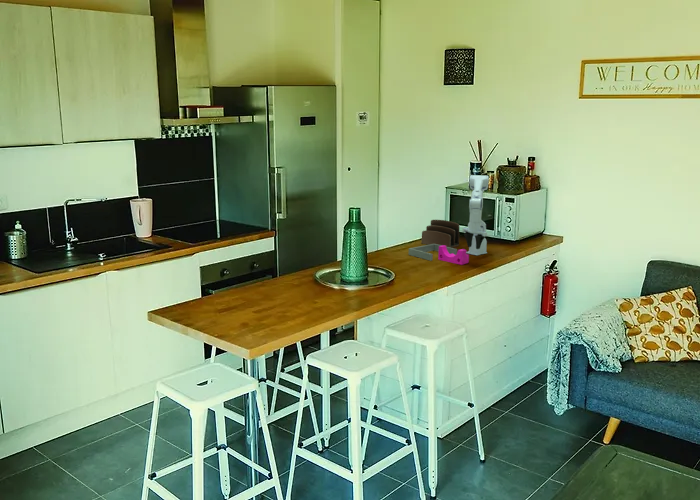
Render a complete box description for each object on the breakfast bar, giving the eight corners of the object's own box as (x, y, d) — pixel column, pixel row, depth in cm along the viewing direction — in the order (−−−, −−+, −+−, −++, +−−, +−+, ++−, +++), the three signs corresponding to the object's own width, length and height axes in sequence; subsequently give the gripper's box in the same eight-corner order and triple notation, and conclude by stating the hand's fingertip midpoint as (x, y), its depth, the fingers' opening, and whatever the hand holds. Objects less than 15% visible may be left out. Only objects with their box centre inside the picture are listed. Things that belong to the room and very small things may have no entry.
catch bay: (434, 249, 384) (434, 243, 383) (456, 255, 371) (457, 249, 371) (408, 254, 372) (408, 248, 371) (431, 260, 359) (431, 254, 358)
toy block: (468, 263, 356) (469, 249, 354) (461, 265, 352) (462, 251, 350) (445, 258, 366) (445, 244, 365) (438, 260, 362) (438, 246, 360)
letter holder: (430, 241, 407) (431, 218, 404) (459, 246, 395) (460, 222, 391) (421, 243, 400) (421, 220, 396) (450, 249, 387) (451, 224, 384)
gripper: (459, 220, 348) (457, 246, 351) (481, 224, 337) (479, 251, 340) (468, 218, 352) (466, 244, 355) (490, 223, 341) (488, 249, 344)
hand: (473, 247), depth 348 cm, fingers open, 5 cm apart
